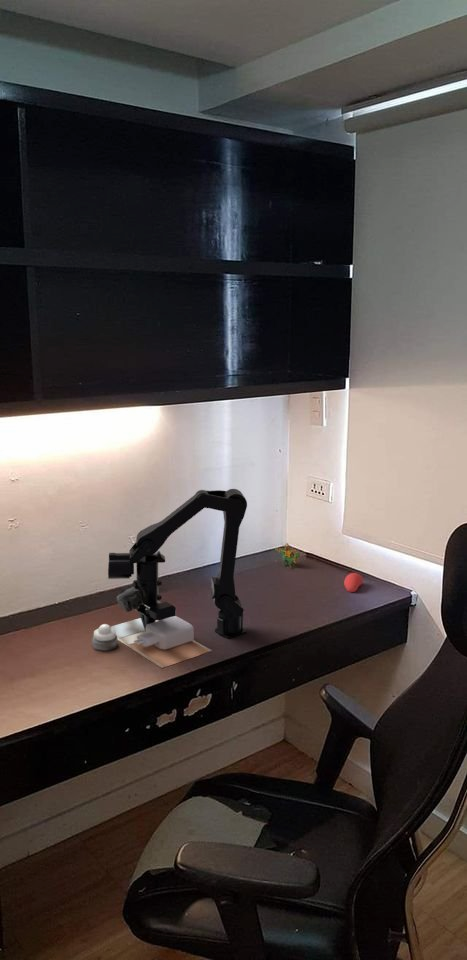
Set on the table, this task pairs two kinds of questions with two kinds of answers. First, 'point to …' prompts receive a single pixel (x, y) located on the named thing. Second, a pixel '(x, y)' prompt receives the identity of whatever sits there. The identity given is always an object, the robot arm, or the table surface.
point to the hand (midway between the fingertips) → (147, 632)
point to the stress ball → (353, 582)
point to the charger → (167, 633)
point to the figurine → (289, 555)
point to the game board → (154, 654)
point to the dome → (104, 633)
